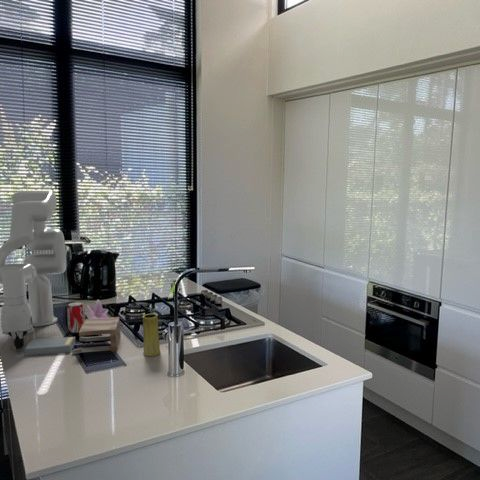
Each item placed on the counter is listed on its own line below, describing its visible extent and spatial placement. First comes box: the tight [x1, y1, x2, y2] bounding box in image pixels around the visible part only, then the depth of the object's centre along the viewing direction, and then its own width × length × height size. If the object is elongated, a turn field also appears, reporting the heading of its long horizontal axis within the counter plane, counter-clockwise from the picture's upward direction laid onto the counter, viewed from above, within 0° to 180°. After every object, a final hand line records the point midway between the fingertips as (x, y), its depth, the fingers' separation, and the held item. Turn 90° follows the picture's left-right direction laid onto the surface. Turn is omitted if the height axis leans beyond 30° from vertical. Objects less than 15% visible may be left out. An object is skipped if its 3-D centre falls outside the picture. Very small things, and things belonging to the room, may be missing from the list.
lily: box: [86, 299, 110, 319], centre depth 203 cm, size 12×12×10 cm
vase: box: [142, 313, 161, 357], centre depth 165 cm, size 6×6×14 cm
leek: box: [167, 279, 181, 300], centre depth 254 cm, size 6×7×30 cm
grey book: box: [24, 336, 76, 356], centre depth 172 cm, size 10×16×3 cm, turn 100°
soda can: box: [66, 301, 86, 334], centre depth 192 cm, size 7×7×12 cm
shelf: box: [72, 316, 121, 355], centre depth 175 cm, size 16×16×8 cm
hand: (19, 348), depth 170 cm, fingers closed
